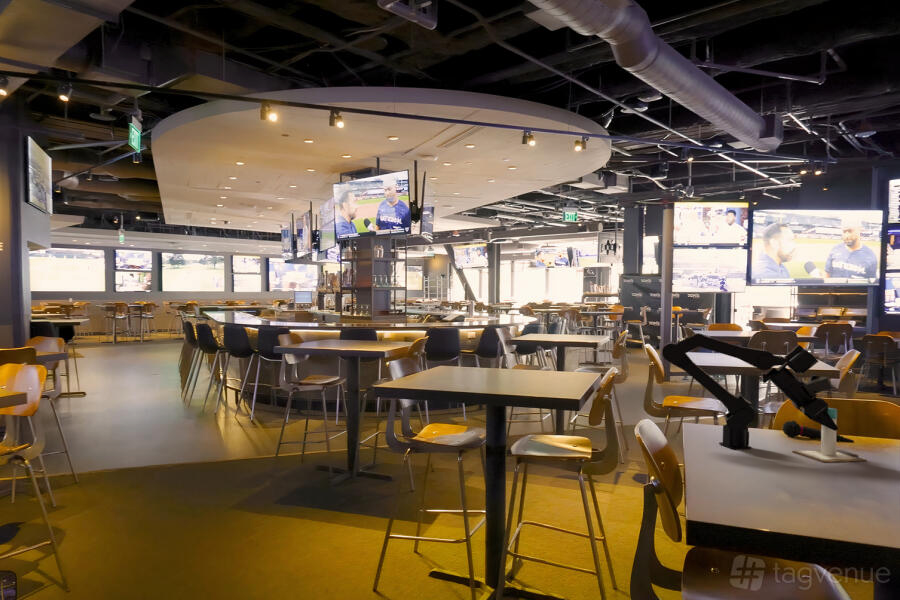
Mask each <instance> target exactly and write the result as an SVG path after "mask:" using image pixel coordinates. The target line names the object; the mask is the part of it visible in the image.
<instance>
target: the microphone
mask: <svg viewBox="0 0 900 600" xmlns="http://www.w3.org/2000/svg"><path fill="white" fill-rule="evenodd" d="M782 432H783V433H784V435H785V436H788V437H790V438H792V439H793V438H797V437H799V436H800V437H803V438H808V439H811V440H821V429H816V428H811V427H810V426H809V427H808V426H804V425H800V424H799V423H797V421H795V420H791V421H789V420H788V421H786V422H784V423H783V424H782ZM836 442H844V443H845V442H846V443H855V440H854V439H851V438H847V437H844V436H843V435H840V434H838V433H836Z"/></svg>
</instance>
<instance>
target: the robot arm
mask: <svg viewBox="0 0 900 600" xmlns="http://www.w3.org/2000/svg"><path fill="white" fill-rule="evenodd" d="M696 348H703V349H706V350H708V351H713V352H716V353H720V354H723V355H726V356H729V357H732V358H735V359H738V360H741V361H742V362H744V363H747V364H749V365H751V366H752V367H755V368H756V369H759V370H761V371H767V372H766V373H764V372H762V373H760V375H761V382H762V383H763V384H766V383H768V382H769V381H770V382H771V383H772V384H773V385H774V386H775V387H776V388H777V389H778V390H780V391H781V393H782V394H783V395H784V396H785V397H787V399H788V400H789V401H791V402H792V405H793V406H794V407H795V408H796V409H797V410H798V411H800V412H801V413H803V415H804V416H805V417H807V418H808V419H809V420H811V421H813V422H815V423H818V424H820V425H821V424H822V425H824V426H826V427H828V428H830V429H832V430H834V431H836V432H837V431H838V430H839V427H838V425H837V426H836V424H835V423H834V421H833V420H832V418H831V417H830V415H829V414H828V408H830V407H829V404H828V403H827V401H825V400H824V398H822V397H817V396H818V395H817V394H819V393H822V392H825V391H830V390H833V385H832V384H831V382H830V380H829V378H828V377H827V376H821V377H819V376H818V375H816V374H812V375H810V376H809V380H808V381H807V382H804V381H802V380H800V379H799V378H798V377H797V376H796V375H797V374H802V375H804V374H805V373H806V372H808V371H809V370H810V369H811V368H813V367H814V366H815V365H816V364H818V363H819V360H818V359H817V358H816V357H815V355H814V354H812V353H811V352H809V351H808V350H807V349H805V348H803V347H802V345H801V344H797V345H796V346H794V348H793V349H792V350H790V352H789V353H787V354H786V355H785V356H782V355H775V354H773V353H772V352H770V351H768V350H765V349H762V348H761V349H760V348H754V347H745V346H739V345H736V344H733V343H730V342H726V341H723V340H719V339H717V338H713V337H709V336H707V335H704V334H702V333H694V334H692V335H691V336H688V337H687V338H685V339H683V340H679V341H678V342H668V343H666V344H665V345H664V346H663V348H662V351H661V352H662V353H661V354H662V357H663V359H664V360H666V361H667V362H668V363H669V364H671V365H673V366H675V367H677V368H678V369H681V370H683V371H684V372H685V373H687V375H689V376H690V377H692V378H693V379H694V380H695V381H696V382H697V383H699V385H701V386H702V387H703V388H704V389H705V390H707V391H708V392H709V393H710V394H711V395H712V396H714V397H715V398H716V399H718V401H720V402H721V403H722V405H724V407H725V408H726V409H727V411H728V413H727V414H725V415H724V417H723V418H724V421H725V422H726V424H723V425H722V441H719V442H718V443H719V445H721V446H724V447H726V448H729V449H732V450H745V449H746V450H748V449H752V446H750V432H749V431H750V430H749V426H748V425H749V424H751V423H752V422H753V421H754V419H755V418H756V411H755V409H754V408H753V407H752V406H753V404H752V403H751V401H749V400H747V399H746V398H745V397H743V395H742V394H741V393H740V392H738V393H737V395H736V394H733V393H731V392H729V391H728V389H726V388H725V387H724V386H723V385H721V384H720V383H719V382H718V381H716V380H715V379H714V378H713V377H712V376H711V375H709V374H708V373H707V372H706V371H705V370H703V369H702V368H701V367H700V366H699V365H698V364H697V363H695V362H694V361H693V360H692V359H691V358H690V357H689V355H688V354H687V353H688V352H691V351H692V350H694V349H696ZM776 366H779V367H778V368H776ZM787 367H788V368H789V369H788V368H787ZM768 370H769V371H768ZM790 370H791V371H792V372H793V373H794V374H795V375H794V374H793V373H792V372H791V371H790Z"/></svg>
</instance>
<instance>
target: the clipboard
mask: <svg viewBox="0 0 900 600" xmlns="http://www.w3.org/2000/svg"><path fill="white" fill-rule="evenodd" d="M791 452H792V453H794V454H797V455H799V456H802V457H806V458H809V459H811V460H814V461H817V462H821V463H824V464H825V463H826V462H829V463H850V462H849V461H862V462H867V461H868V460H867V459H866V458H863V457H862V458H861V457H859V454H856V453H853V452H849V451H847V450H843V449H836V456H827V455H823V454H821V449H820V450H819V449H814V450H791ZM826 464H827V463H826Z"/></svg>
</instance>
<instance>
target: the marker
mask: <svg viewBox="0 0 900 600" xmlns="http://www.w3.org/2000/svg"><path fill="white" fill-rule="evenodd" d="M828 414H829V415H830V417H831V418H832V420H833V421H834V423H835V424H836V426H837V427H838V425H837V419H838V409H837V408H834V407H829V408H828ZM820 425H821V428H820V430H821V439H820V450H821V454H823V455H827V456H836V450H837V441H836V434H837V430H836V431H834V430H832V429H830V428H828V427H826V426H824V425H822V424H820Z"/></svg>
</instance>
